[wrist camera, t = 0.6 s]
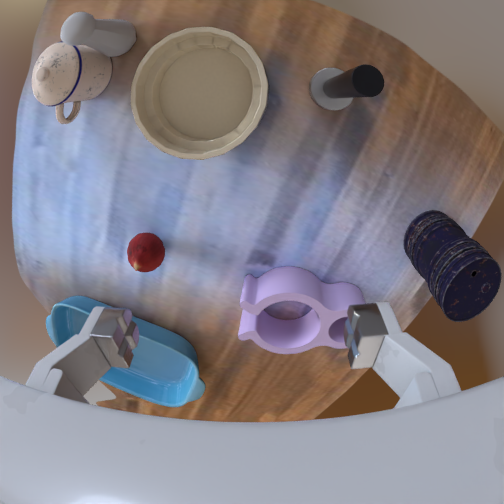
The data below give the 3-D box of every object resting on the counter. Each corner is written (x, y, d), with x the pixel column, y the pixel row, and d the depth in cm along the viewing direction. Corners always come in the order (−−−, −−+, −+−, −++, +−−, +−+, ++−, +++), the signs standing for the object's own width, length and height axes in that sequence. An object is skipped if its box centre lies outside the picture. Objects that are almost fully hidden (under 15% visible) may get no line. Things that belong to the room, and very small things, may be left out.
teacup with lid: (72, 50, 31) (22, 47, 21) (118, 43, 31) (71, 33, 21) (65, 119, 37) (15, 132, 27) (109, 119, 37) (61, 130, 27)
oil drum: (455, 253, 42) (509, 319, 27) (408, 272, 45) (450, 349, 29) (449, 201, 38) (517, 257, 23) (397, 221, 41) (451, 290, 25)
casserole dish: (223, 338, 55) (217, 366, 49) (197, 394, 66) (191, 417, 59) (58, 269, 52) (39, 289, 45) (64, 337, 62) (51, 356, 56)
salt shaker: (149, 31, 31) (101, 12, 19) (127, 64, 33) (73, 58, 22) (122, 17, 29) (70, -1, 18) (101, 49, 32) (45, 42, 20)
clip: (368, 273, 46) (379, 299, 40) (350, 330, 52) (356, 357, 46) (245, 261, 47) (240, 287, 41) (242, 321, 53) (237, 349, 47)
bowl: (153, 40, 31) (134, 33, 26) (273, 39, 31) (272, 28, 25) (149, 149, 39) (130, 157, 34) (263, 155, 39) (261, 164, 33)
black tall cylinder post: (310, 66, 32) (334, 39, 17) (352, 73, 32) (404, 56, 16) (306, 106, 35) (328, 108, 19) (348, 113, 35) (397, 122, 19)
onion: (132, 237, 46) (109, 261, 39) (154, 217, 44) (132, 240, 37) (155, 262, 48) (137, 290, 41) (178, 245, 46) (161, 272, 39)
